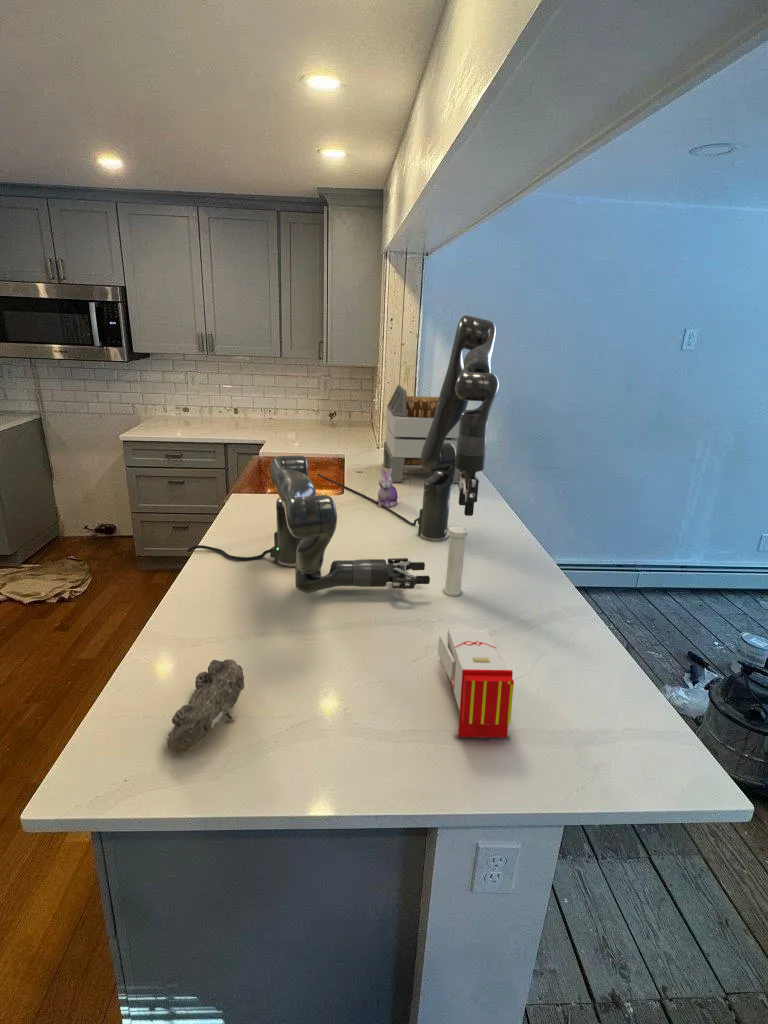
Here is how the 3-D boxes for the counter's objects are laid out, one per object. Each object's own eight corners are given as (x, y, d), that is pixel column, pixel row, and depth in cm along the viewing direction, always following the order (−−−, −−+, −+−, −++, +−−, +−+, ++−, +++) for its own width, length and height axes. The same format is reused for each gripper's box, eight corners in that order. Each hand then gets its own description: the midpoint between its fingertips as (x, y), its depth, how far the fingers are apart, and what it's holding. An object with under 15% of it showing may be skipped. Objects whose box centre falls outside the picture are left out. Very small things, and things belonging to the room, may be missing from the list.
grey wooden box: (382, 463, 289) (386, 382, 275) (445, 464, 293) (451, 384, 279) (390, 482, 257) (394, 392, 243) (460, 483, 261) (468, 394, 247)
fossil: (192, 660, 117) (244, 628, 112) (224, 691, 120) (276, 661, 115) (142, 746, 98) (202, 712, 93) (182, 779, 101) (242, 748, 96)
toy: (488, 613, 130) (523, 677, 101) (484, 667, 133) (517, 744, 104) (435, 612, 130) (455, 676, 101) (432, 666, 133) (451, 743, 103)
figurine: (382, 509, 223) (384, 472, 218) (371, 501, 232) (372, 465, 226) (403, 506, 227) (405, 470, 222) (391, 498, 236) (393, 463, 231)
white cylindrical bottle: (460, 596, 158) (466, 534, 152) (444, 594, 159) (450, 533, 152) (460, 589, 162) (466, 528, 156) (444, 587, 163) (450, 527, 156)
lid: (467, 539, 152) (468, 533, 151) (448, 537, 152) (448, 532, 152) (467, 532, 157) (467, 526, 156) (448, 530, 157) (448, 525, 157)
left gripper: (371, 572, 148) (432, 571, 149) (367, 550, 161) (423, 550, 163) (370, 597, 150) (430, 597, 152) (366, 573, 163) (422, 573, 165)
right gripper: (491, 458, 141) (484, 519, 146) (479, 445, 154) (473, 501, 159) (461, 457, 140) (456, 518, 146) (452, 444, 154) (447, 501, 159)
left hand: (427, 572), depth 157 cm, fingers open, 8 cm apart
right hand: (465, 510), depth 152 cm, fingers open, 8 cm apart
